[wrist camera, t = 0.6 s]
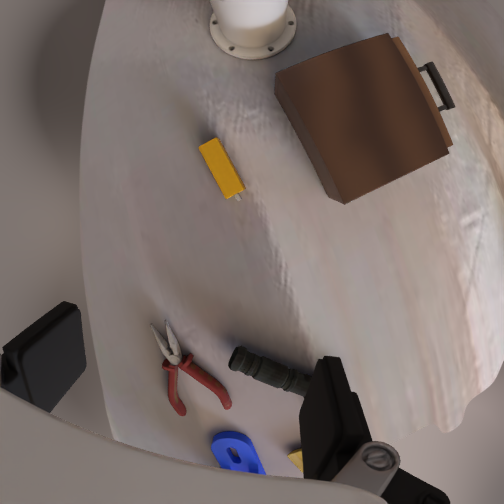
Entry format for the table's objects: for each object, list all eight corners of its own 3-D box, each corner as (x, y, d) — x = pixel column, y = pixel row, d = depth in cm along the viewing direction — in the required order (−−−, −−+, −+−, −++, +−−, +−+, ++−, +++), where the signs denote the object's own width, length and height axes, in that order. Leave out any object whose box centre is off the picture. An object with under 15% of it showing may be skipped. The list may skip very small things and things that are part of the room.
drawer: (404, 47, 34) (425, 29, 27) (449, 136, 38) (477, 133, 30) (294, 87, 38) (299, 70, 30) (345, 185, 41) (361, 189, 33)
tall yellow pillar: (202, 148, 41) (198, 147, 39) (219, 138, 41) (216, 136, 39) (231, 203, 43) (229, 205, 41) (249, 194, 43) (248, 196, 40)
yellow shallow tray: (302, 466, 57) (302, 473, 55) (286, 448, 55) (286, 455, 53) (337, 454, 55) (338, 461, 53) (323, 435, 54) (325, 442, 52)
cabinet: (366, 56, 36) (388, 32, 27) (416, 155, 40) (449, 153, 30) (274, 93, 39) (275, 73, 30) (328, 197, 42) (344, 204, 33)
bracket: (266, 474, 58) (264, 503, 50) (232, 477, 59) (228, 505, 51) (246, 429, 54) (242, 462, 45) (207, 432, 55) (199, 464, 46)
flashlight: (331, 399, 51) (335, 417, 46) (228, 358, 50) (224, 376, 45) (346, 380, 50) (352, 398, 45) (241, 336, 49) (238, 353, 44)
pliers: (190, 310, 48) (186, 317, 45) (235, 402, 52) (233, 411, 50) (132, 325, 49) (126, 332, 47) (181, 410, 54) (177, 419, 51)
